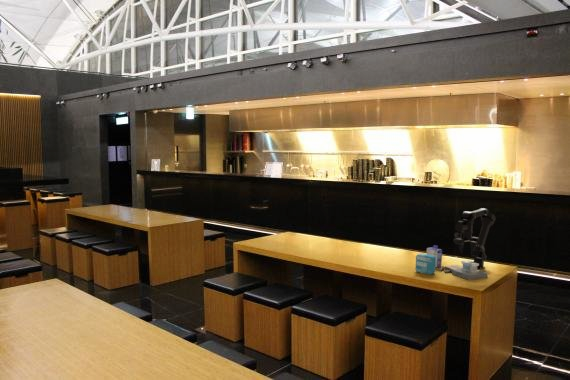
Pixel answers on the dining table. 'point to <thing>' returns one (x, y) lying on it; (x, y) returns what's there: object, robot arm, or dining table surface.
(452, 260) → the dining table surface
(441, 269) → the bolt
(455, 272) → the stand
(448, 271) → the bolt
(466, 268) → the block
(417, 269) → the data package
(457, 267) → the stand
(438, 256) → the ink cartridge box
